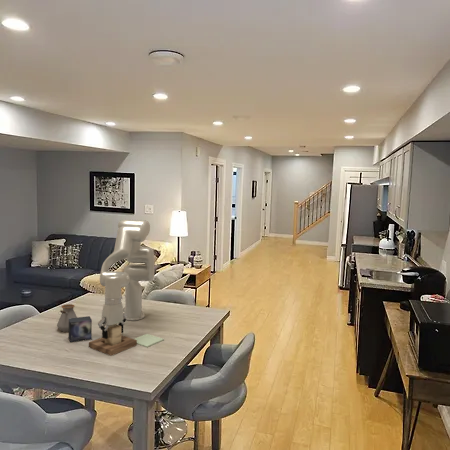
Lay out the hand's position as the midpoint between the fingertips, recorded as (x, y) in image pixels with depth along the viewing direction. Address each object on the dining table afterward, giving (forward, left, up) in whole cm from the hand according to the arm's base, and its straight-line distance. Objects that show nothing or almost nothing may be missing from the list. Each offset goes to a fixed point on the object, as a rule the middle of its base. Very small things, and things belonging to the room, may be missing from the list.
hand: (112, 335), depth 199 cm
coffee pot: (-33, -3, -6) cm, 34 cm away
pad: (+8, +15, -6) cm, 18 cm away
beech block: (0, 0, -6) cm, 6 cm away
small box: (-20, -4, -6) cm, 21 cm away
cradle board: (0, 0, -6) cm, 6 cm away
